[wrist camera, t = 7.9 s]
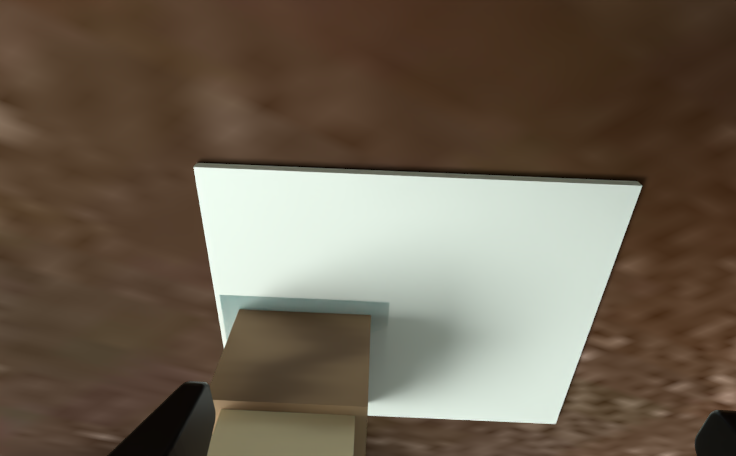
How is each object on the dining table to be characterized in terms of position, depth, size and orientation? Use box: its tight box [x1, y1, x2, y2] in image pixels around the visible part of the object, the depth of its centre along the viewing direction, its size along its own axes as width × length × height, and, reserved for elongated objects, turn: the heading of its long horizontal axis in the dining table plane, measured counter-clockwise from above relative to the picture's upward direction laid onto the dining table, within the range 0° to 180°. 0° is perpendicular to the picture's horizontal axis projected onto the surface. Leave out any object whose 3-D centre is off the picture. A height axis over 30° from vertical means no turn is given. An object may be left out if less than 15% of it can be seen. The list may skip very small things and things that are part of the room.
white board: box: [194, 163, 642, 424], centre depth 22 cm, size 17×14×1 cm
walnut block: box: [210, 309, 371, 456], centre depth 22 cm, size 6×6×5 cm
